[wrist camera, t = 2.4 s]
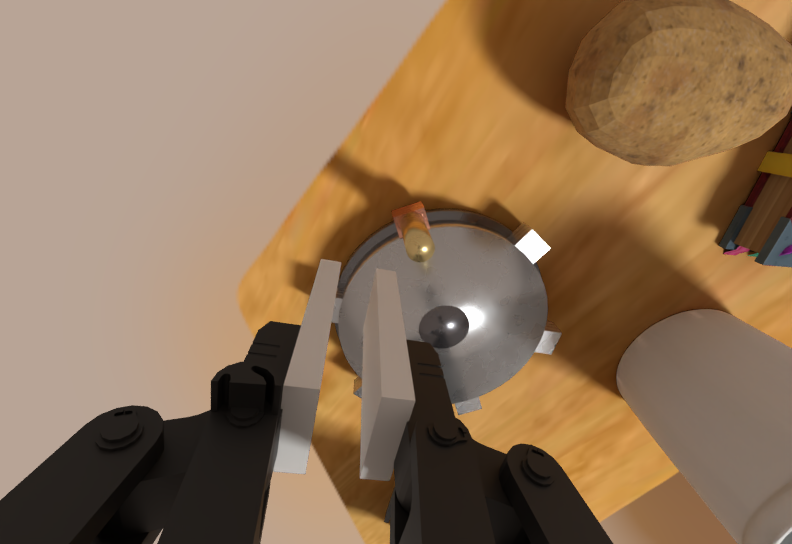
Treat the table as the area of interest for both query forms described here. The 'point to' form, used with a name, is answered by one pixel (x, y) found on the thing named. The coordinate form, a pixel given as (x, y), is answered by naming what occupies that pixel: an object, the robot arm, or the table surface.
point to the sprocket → (456, 300)
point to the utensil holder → (719, 415)
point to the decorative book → (767, 211)
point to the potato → (678, 80)
